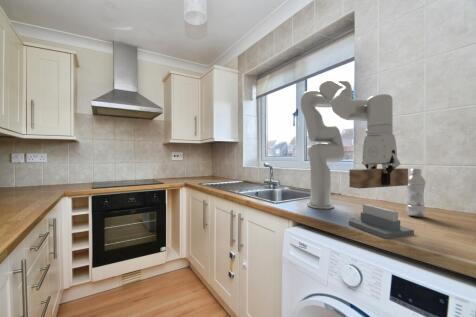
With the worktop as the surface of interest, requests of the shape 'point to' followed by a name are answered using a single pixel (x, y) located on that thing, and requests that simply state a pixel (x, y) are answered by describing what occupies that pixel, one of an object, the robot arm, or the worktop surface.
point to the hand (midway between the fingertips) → (379, 183)
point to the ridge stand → (381, 222)
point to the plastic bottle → (415, 194)
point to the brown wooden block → (376, 178)
